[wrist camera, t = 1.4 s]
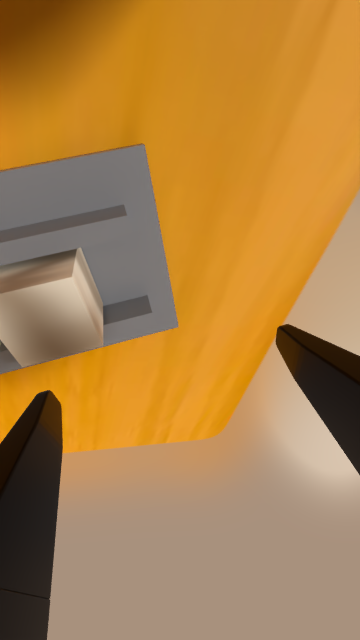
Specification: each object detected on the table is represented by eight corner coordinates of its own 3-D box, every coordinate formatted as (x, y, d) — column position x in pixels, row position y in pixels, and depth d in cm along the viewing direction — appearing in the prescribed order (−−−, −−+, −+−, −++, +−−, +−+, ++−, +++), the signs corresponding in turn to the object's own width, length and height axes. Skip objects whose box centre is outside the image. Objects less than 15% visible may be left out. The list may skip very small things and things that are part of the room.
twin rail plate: (142, 143, 16) (151, 148, 13) (176, 320, 25) (185, 345, 22) (-292, 225, 14) (-390, 251, 11) (-84, 388, 22) (-109, 425, 20)
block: (78, 241, 17) (71, 277, 13) (103, 303, 20) (103, 345, 16) (0, 259, 17) (-31, 301, 13) (37, 319, 20) (22, 367, 16)
